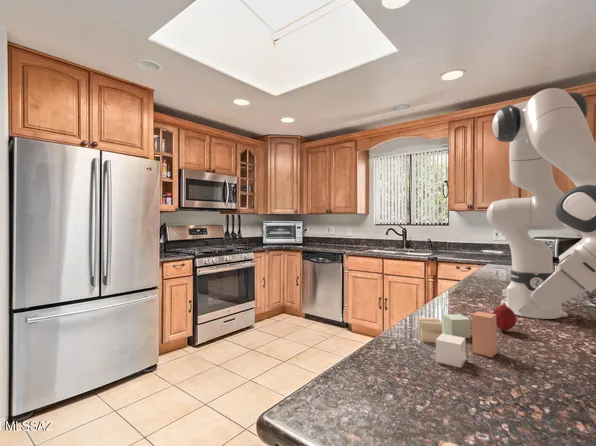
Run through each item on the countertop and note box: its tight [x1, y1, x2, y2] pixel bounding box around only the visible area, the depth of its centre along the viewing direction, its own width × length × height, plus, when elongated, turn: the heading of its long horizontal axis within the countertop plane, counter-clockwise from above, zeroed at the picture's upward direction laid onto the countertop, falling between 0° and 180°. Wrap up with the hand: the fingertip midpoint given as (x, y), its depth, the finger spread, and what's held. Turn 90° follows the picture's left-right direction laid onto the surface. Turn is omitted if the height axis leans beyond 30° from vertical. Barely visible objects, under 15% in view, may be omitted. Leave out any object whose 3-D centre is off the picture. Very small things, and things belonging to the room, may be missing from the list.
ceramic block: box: [435, 333, 467, 369], centre depth 72 cm, size 5×5×5 cm
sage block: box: [442, 313, 471, 339], centre depth 88 cm, size 5×5×5 cm
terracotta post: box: [471, 310, 498, 358], centre depth 76 cm, size 4×4×9 cm
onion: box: [492, 303, 517, 332], centre depth 91 cm, size 6×6×8 cm
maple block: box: [418, 316, 443, 344], centre depth 85 cm, size 5×5×5 cm
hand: (527, 308), depth 70 cm, fingers open, 8 cm apart
